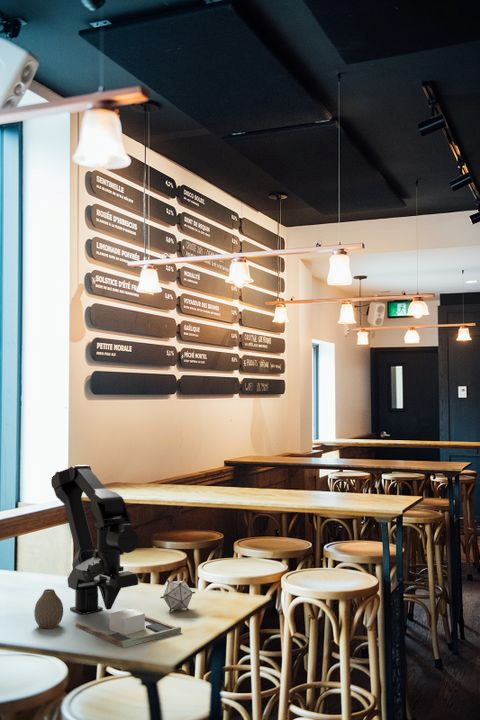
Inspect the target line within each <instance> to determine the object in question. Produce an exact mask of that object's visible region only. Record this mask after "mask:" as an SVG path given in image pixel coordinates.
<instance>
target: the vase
mask: <svg viewBox="0 0 480 720" xmlns="http://www.w3.org/2000/svg"><path fill="white" fill-rule="evenodd" d="M33 613H34V620H35V622H36V624H37V625H38V626H39V627H40V628H41V629H45V630H46V629H48V630H49V629H53V628H56V627H57V626H58V625H59V624H60V623H61V622H62V620H63V617H64V605H63V602H62V600H61V599H60V598H59V596H58V595H57V593H56V591H55V589H52V588H46V589H44V590H43V593H42V594H41V596H40V597H39V598H38V599H37V601H36V603H35V607H34V611H33Z"/></svg>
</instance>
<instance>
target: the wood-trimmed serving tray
mask: <svg viewBox="0 0 480 720" xmlns="http://www.w3.org/2000/svg"><path fill="white" fill-rule="evenodd" d="M145 622H147V623H150V624H155V623H157V624H159V625H162V626H164V627H167V628H170V629H168V630H164V631H160V632H153V633H149V634H145V635H140V636H137V637H133V638H132V639H129V640H125V641H120V640H118V639H116V638H113V637H111V636H109V634H106V633H104V632H102V631H99V630H97V629H95V628H92V627H91V626H89V625H86V624H84V623H81V622H79V621H78V622H75V627H77V628H79V629H80V630H83V631H85V630H86V632H88V633H90V634H92V635H95V636H97V637H99V638H101V639H103V640H105V641H108V642H110V643H112V644H114V645H117V646H119V647H121V648H127V647H132V646H134V645H139V644H143V643H146V642H150V641H153V640H157V639H161V638H166V637H169V636H172V635H173V636H174V635H177V634H181V633H182V627H181V626H173V625H171V624H168V623H165V622H163V621H160V620H158V619H155V618H152V617H150V616H147V615H145Z"/></svg>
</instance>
